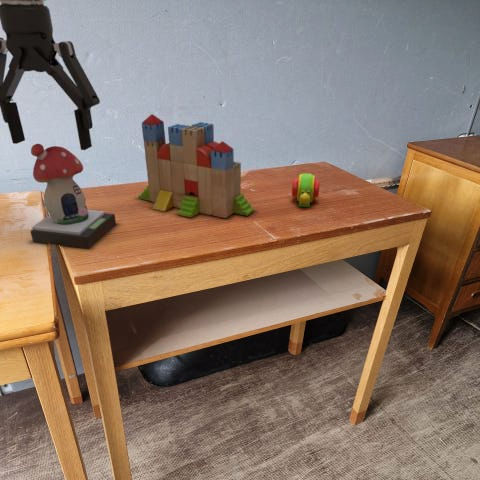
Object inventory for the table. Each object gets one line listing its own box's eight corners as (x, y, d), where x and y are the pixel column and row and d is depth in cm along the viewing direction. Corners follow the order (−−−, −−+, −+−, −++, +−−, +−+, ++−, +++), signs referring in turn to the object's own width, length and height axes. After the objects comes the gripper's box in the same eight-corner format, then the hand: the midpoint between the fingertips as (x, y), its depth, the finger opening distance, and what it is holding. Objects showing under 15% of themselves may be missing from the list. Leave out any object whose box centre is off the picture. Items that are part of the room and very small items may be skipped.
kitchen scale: (33, 242, 87) (29, 228, 86) (65, 219, 97) (62, 205, 95) (89, 248, 85) (86, 234, 84) (116, 224, 95) (114, 211, 93)
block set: (260, 207, 105) (264, 119, 93) (231, 228, 94) (232, 132, 83) (164, 186, 115) (157, 105, 104) (128, 203, 105) (116, 115, 94)
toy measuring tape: (289, 209, 104) (292, 181, 100) (294, 182, 119) (296, 157, 116) (317, 211, 103) (320, 183, 99) (318, 184, 119) (321, 159, 115)
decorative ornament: (47, 228, 86) (27, 148, 77) (42, 216, 90) (22, 139, 81) (96, 219, 89) (82, 142, 81) (88, 209, 94) (73, 134, 85)
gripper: (107, 6, 70) (124, 145, 82) (-31, 0, 74) (4, 134, 86) (84, 6, 64) (106, 156, 76) (-66, 0, 68) (-22, 144, 80)
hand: (52, 145), depth 81 cm, fingers open, 13 cm apart
